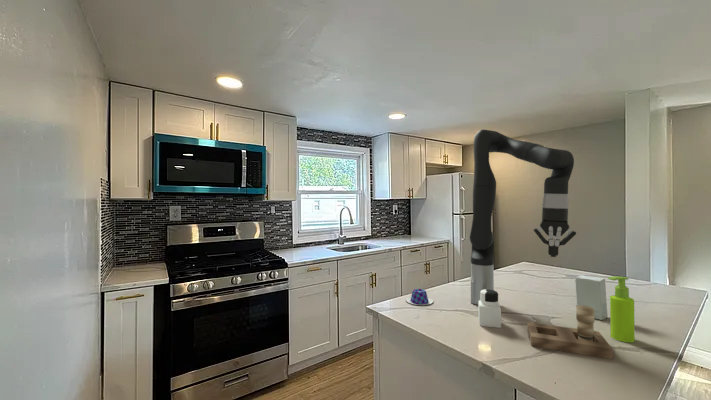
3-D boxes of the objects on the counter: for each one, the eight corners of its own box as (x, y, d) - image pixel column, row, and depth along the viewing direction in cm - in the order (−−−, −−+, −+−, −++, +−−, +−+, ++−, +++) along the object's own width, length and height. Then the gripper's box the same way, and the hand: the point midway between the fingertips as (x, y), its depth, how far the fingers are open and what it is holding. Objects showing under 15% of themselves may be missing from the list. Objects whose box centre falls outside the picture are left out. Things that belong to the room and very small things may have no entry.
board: (531, 346, 95) (531, 335, 95) (527, 330, 106) (527, 321, 106) (612, 359, 87) (612, 347, 87) (599, 341, 98) (598, 331, 98)
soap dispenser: (602, 335, 102) (602, 274, 102) (622, 334, 102) (621, 274, 102) (619, 343, 96) (618, 279, 96) (639, 342, 97) (639, 278, 97)
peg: (578, 348, 93) (578, 308, 93) (575, 342, 97) (574, 304, 97) (596, 351, 91) (596, 310, 91) (592, 344, 95) (591, 306, 95)
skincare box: (607, 317, 117) (607, 278, 117) (601, 321, 114) (601, 280, 114) (582, 310, 124) (581, 274, 124) (575, 314, 121) (575, 276, 121)
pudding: (437, 306, 132) (437, 293, 132) (410, 307, 131) (409, 295, 131) (428, 297, 144) (427, 286, 144) (403, 298, 143) (402, 287, 143)
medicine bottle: (499, 320, 115) (498, 288, 115) (501, 328, 108) (501, 294, 108) (478, 318, 117) (478, 287, 117) (479, 325, 110) (479, 292, 110)
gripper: (534, 206, 106) (532, 256, 106) (580, 208, 100) (578, 260, 101) (532, 205, 113) (530, 252, 113) (575, 207, 107) (573, 256, 107)
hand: (553, 256), depth 107 cm, fingers closed
